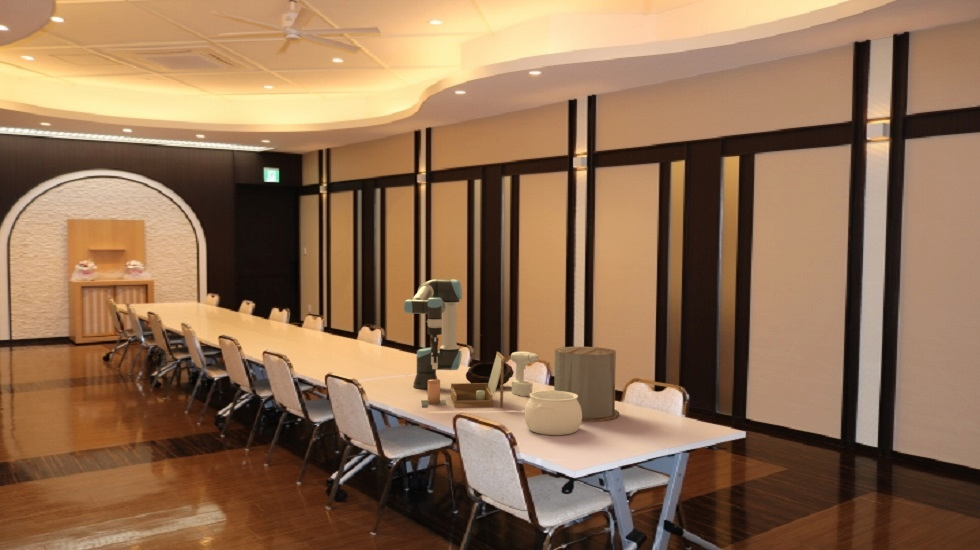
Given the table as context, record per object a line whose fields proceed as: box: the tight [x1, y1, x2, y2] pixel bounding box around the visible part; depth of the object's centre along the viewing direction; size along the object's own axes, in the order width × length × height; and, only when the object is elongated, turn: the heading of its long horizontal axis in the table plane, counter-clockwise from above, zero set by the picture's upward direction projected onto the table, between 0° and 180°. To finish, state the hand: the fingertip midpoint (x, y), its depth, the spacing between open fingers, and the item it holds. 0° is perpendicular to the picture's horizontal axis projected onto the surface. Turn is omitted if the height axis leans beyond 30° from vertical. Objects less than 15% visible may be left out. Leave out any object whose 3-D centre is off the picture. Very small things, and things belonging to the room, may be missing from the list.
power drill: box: [510, 351, 540, 397], centre depth 424 cm, size 8×24×25 cm, turn 31°
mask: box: [465, 361, 514, 388], centre depth 448 cm, size 18×14×30 cm
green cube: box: [476, 390, 485, 401], centre depth 398 cm, size 5×5×6 cm
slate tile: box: [420, 399, 448, 408], centre depth 395 cm, size 13×13×1 cm
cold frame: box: [450, 359, 505, 409], centre depth 396 cm, size 26×25×26 cm
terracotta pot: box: [427, 378, 441, 404], centre depth 395 cm, size 7×7×12 cm
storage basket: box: [553, 346, 620, 423], centre depth 377 cm, size 35×35×32 cm
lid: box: [488, 351, 506, 395], centre depth 399 cm, size 23×20×1 cm
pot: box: [524, 390, 582, 436], centre depth 343 cm, size 29×26×16 cm
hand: (434, 366), depth 395 cm, fingers open, 13 cm apart
